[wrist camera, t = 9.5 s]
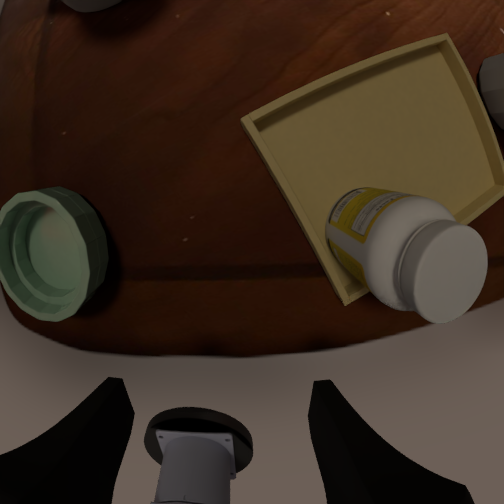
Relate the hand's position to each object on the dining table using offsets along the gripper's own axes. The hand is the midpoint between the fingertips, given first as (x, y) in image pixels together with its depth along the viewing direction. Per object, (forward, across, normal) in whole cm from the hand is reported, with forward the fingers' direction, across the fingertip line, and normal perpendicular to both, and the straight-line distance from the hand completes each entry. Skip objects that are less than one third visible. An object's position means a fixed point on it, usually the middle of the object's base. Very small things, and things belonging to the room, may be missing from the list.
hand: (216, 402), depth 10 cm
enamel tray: (+11, -12, -9) cm, 18 cm away
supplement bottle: (+10, -9, -4) cm, 14 cm away
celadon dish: (+10, +12, -3) cm, 16 cm away
